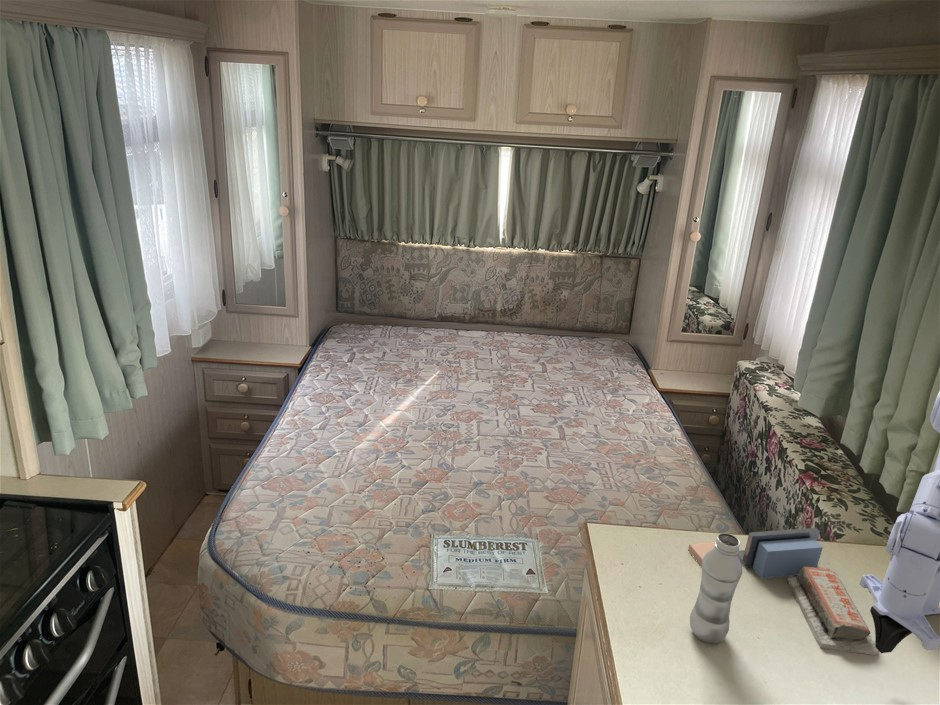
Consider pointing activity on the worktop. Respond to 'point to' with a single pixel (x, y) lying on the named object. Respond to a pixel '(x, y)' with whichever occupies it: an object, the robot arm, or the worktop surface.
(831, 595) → the packaged product
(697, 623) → the plastic bottle
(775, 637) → the worktop surface
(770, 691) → the worktop surface
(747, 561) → the bookend
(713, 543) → the lying book
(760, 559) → the grayish blue rectangular block
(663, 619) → the worktop surface
